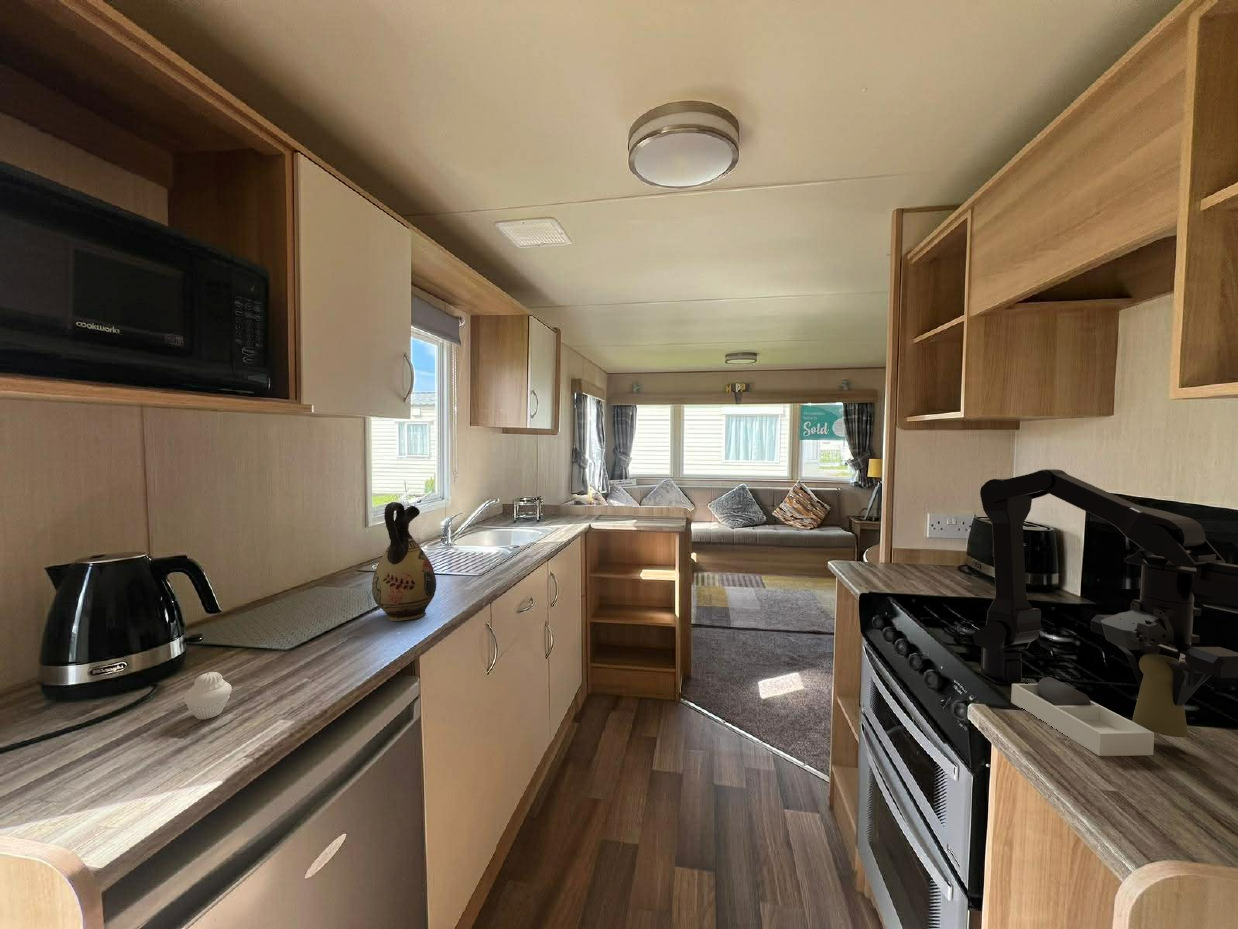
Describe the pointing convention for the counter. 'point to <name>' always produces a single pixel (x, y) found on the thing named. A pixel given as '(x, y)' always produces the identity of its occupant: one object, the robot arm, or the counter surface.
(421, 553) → the ceramic jug
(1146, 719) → the cork
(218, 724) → the counter surface
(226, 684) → the muffin
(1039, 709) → the slot tray
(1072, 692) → the dark grey cylinder
